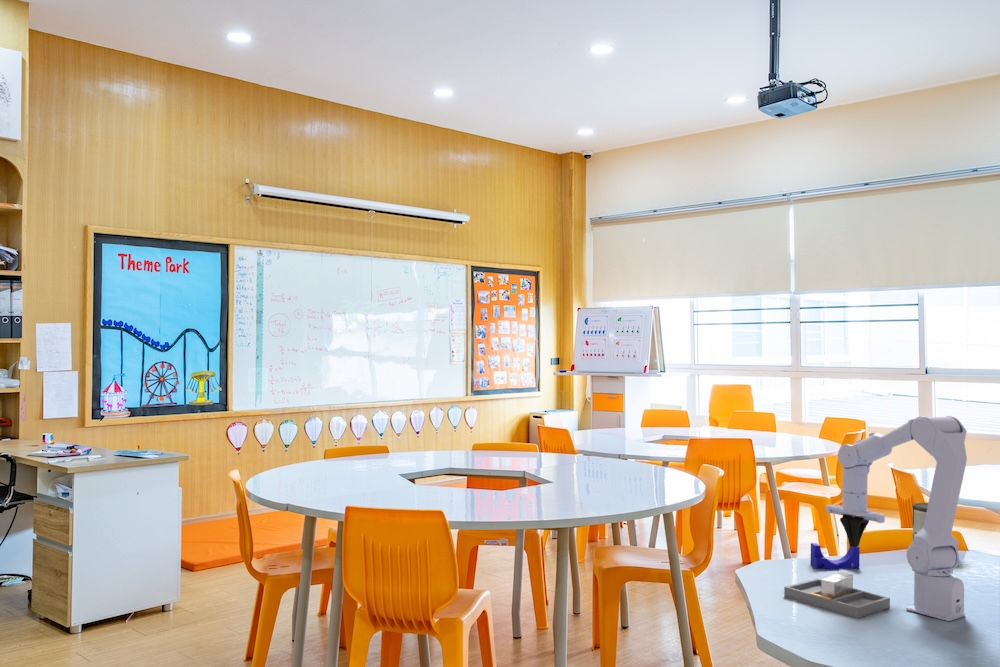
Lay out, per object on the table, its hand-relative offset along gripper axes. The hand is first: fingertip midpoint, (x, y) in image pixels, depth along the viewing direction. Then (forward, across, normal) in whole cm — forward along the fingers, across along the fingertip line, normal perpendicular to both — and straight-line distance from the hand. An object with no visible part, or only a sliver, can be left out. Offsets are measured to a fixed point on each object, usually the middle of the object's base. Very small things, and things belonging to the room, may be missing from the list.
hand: (854, 546), depth 199 cm
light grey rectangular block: (+8, -6, +18) cm, 20 cm away
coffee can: (+10, +5, -51) cm, 52 cm away
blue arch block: (+10, +12, -11) cm, 19 cm away
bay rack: (+9, -6, +18) cm, 21 cm away
